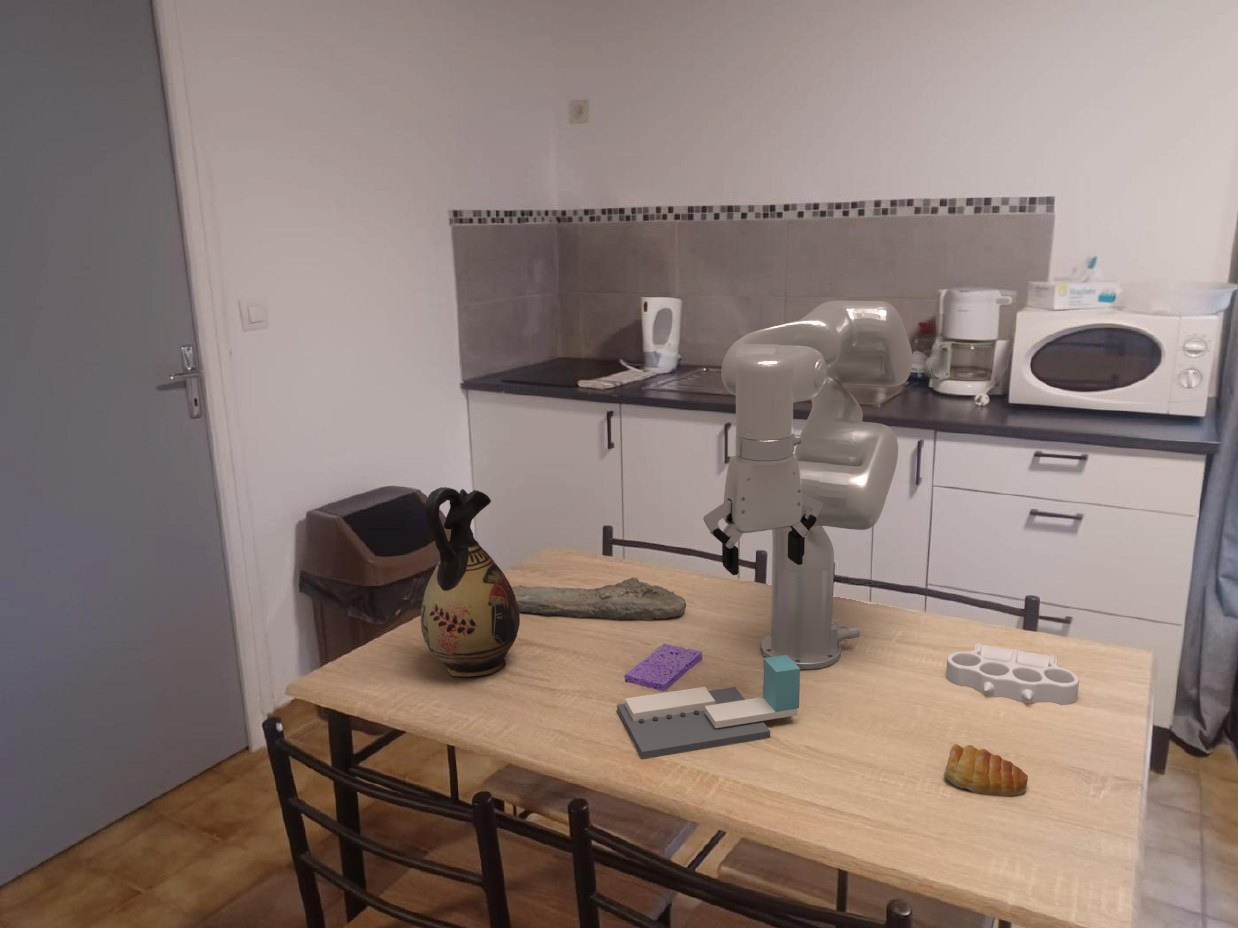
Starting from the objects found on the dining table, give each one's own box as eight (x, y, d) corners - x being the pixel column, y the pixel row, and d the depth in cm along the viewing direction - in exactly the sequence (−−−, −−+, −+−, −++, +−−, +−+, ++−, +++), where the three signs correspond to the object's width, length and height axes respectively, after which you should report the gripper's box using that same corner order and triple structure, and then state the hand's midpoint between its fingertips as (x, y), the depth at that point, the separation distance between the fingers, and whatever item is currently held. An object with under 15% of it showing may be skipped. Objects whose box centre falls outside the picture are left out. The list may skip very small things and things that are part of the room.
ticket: (704, 694, 136) (704, 686, 136) (717, 711, 131) (717, 703, 131) (625, 706, 133) (625, 698, 133) (635, 724, 128) (635, 716, 128)
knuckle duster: (1079, 674, 142) (1075, 719, 129) (954, 653, 150) (940, 693, 138) (1081, 654, 141) (1077, 697, 129) (956, 633, 149) (941, 672, 137)
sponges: (702, 661, 150) (702, 651, 149) (664, 695, 139) (663, 683, 139) (664, 652, 153) (664, 641, 153) (624, 684, 143) (623, 673, 142)
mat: (734, 692, 138) (735, 686, 138) (770, 737, 126) (770, 730, 126) (617, 710, 134) (617, 704, 134) (642, 758, 122) (641, 751, 122)
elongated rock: (507, 601, 179) (491, 625, 169) (504, 576, 177) (488, 599, 168) (689, 601, 172) (683, 626, 162) (687, 574, 170) (681, 598, 161)
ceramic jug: (470, 636, 160) (459, 467, 152) (541, 657, 151) (532, 479, 144) (396, 676, 146) (379, 492, 139) (468, 701, 138) (455, 507, 130)
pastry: (1028, 777, 116) (1031, 750, 115) (1023, 807, 110) (1026, 779, 109) (949, 759, 120) (951, 733, 119) (941, 787, 114) (942, 760, 113)
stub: (785, 699, 133) (786, 654, 132) (799, 714, 129) (800, 668, 127) (704, 712, 130) (704, 666, 129) (715, 728, 126) (715, 680, 125)
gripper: (808, 434, 131) (806, 549, 135) (693, 447, 126) (695, 566, 131) (836, 446, 124) (832, 567, 128) (715, 461, 119) (716, 585, 124)
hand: (763, 566), depth 129 cm, fingers open, 9 cm apart
